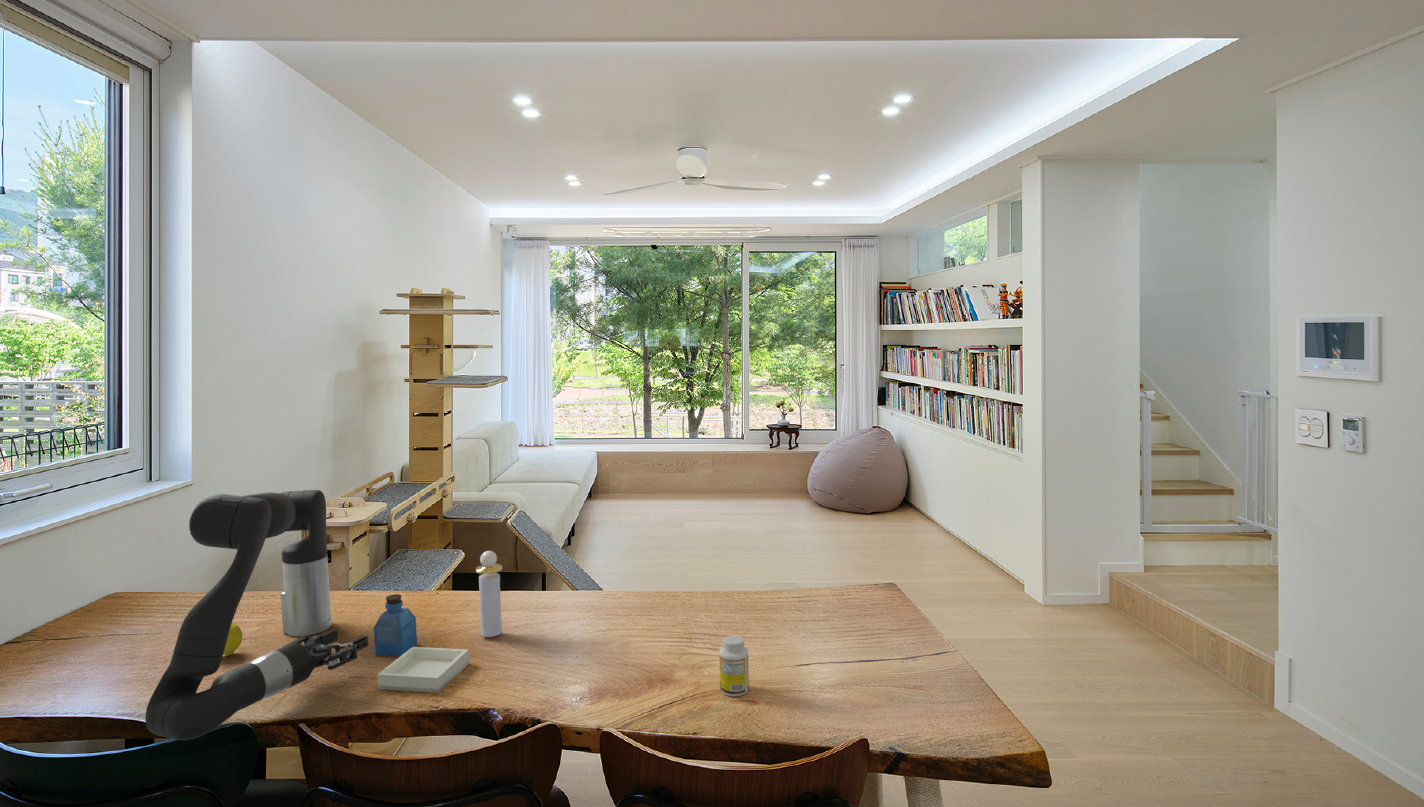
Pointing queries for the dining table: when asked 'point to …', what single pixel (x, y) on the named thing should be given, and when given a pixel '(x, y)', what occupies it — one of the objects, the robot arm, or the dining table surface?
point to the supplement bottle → (734, 667)
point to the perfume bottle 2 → (490, 594)
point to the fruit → (233, 639)
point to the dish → (423, 669)
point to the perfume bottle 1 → (395, 629)
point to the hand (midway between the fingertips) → (351, 637)
